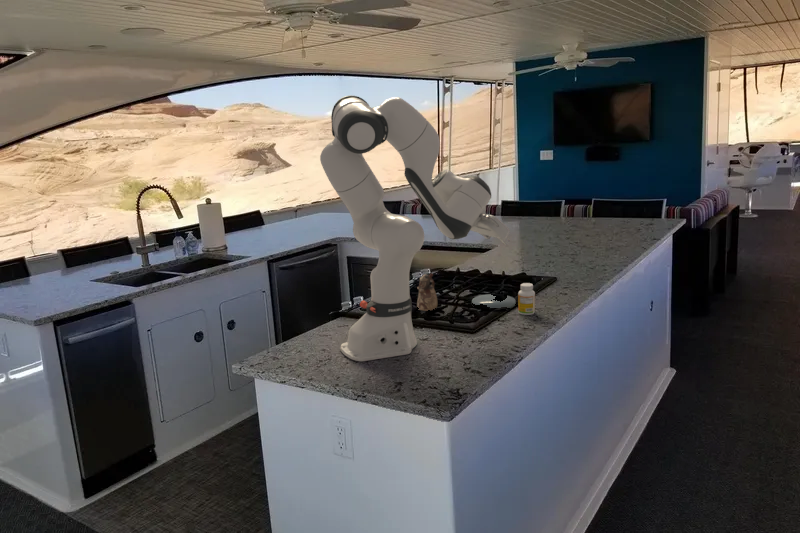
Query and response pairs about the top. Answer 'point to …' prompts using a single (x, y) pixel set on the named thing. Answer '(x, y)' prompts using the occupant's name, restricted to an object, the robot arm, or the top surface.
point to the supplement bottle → (526, 299)
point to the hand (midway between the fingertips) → (498, 239)
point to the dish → (487, 298)
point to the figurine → (426, 294)
